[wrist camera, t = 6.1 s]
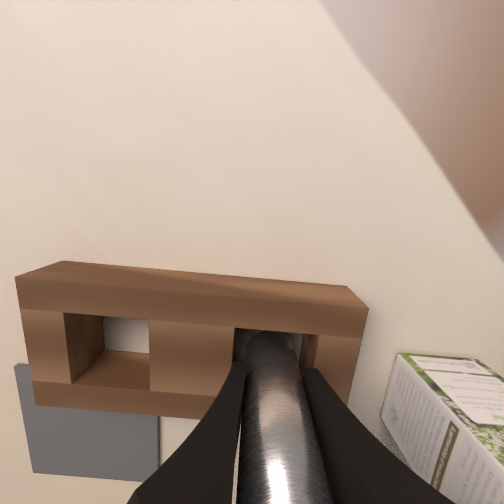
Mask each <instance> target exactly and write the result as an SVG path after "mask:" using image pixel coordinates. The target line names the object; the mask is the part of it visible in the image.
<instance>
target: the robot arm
mask: <svg viewBox="0 0 504 504" xmlns="http://www.w3.org/2000/svg"><path fill="white" fill-rule="evenodd" d="M245 376H246V362H238V361H234V362H233V363H232V365H231V368H230V371H229V373H228V376H227V378H226V380H225V382H224V384H223V386H222V388H221V390H220V391H219V393H218V395H217V397H216V398H215V400H214V401H213V403H212V405H211V406H210V408H209V409H208V411H207V412H206V414H205V415H204V417H203V418H202V419H201V421H200V422H199V423H198V425H197V426H196V427H195V429H194V430H193V431H192V432H191V434H190V435H189V436H188V437H187V438H186V440H185V441H184V442H183V443H182V444H181V445H180V447H179V448H178V449H177V450H176V451H175V452H174V453H173V454H172V455H171V456H170V457H169V458H168V459H167V460H166V461H165V462H164V463H163V464H162V465H161V466H160V467H159V468H158V469H157V470H156V471H155V472H154V473H153V474H152V475H151V476H150V477H149V478H148V479H147V480H145V481H144V482H143V483H142V484H141V485H140V486H139V487H138V488H137V489H136V490H135V491H134V493H133V494H132V496H131V498H130V499H129V501H128V503H127V504H232V490H233V476H234V463H235V457H236V450H237V444H238V437H239V430H240V424H241V417H242V404H243V396H244V387H245ZM303 385H304V389H305V393H306V397H307V401H308V404H309V408H310V412H311V416H312V420H313V424H314V428H315V432H316V436H317V440H318V444H319V448H320V452H321V456H322V460H323V464H324V468H325V472H326V476H327V480H328V483H329V487H330V491H331V495H332V499H333V503H334V504H456V503H454V502H453V501H451V500H450V499H448V498H447V497H446V496H444V495H443V494H441V493H440V492H439V491H437V490H436V489H435V488H434V487H432V486H431V485H430V484H428V483H427V482H426V481H425V480H423V479H422V478H421V477H420V476H418V475H417V474H416V473H415V472H413V471H412V470H411V469H410V468H409V467H407V466H406V465H405V464H404V463H403V462H402V461H400V460H399V459H398V458H397V457H396V456H395V455H394V454H392V453H391V452H390V451H389V450H388V449H387V448H386V447H385V446H384V445H383V444H382V443H381V442H380V441H379V440H378V439H377V438H376V437H375V436H374V435H372V434H371V433H370V432H369V431H368V430H367V428H366V427H365V426H364V425H363V424H362V423H361V422H360V421H359V420H358V419H357V418H356V417H355V415H354V414H353V413H352V412H351V411H350V410H349V409H348V407H347V406H346V405H345V404H344V402H343V401H342V400H341V399H340V398H339V396H338V395H337V394H336V393H335V391H334V390H333V389H332V387H331V386H330V385H329V383H328V382H327V381H326V379H325V378H324V377H323V375H322V374H321V373H320V371H319V370H318V369H317V368H306V367H305V372H304V378H303Z"/></svg>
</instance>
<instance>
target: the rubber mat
mask: <svg viewBox="0 0 504 504" xmlns="http://www.w3.org/2000/svg"><path fill="white" fill-rule="evenodd" d="M14 370H15V376H16V381H17V387H18V392H19V398H20V403H21V409H22V414H23V420H24V425H25V431H26V436H27V442H28V447H29V453H30V458H31V464H32V469H33V473H42V474H54V475H66V476H78V477H90V478H102V479H113V480H125V481H137V482H144V481H145V480H147V479H148V478H149V477H150V476H151V475H152V474H153V473H154V472H155V471H156V470H157V469H158V468H159V416H153V415H141V414H130V413H118V412H106V411H95V410H83V409H71V408H60V407H48V406H36V404H35V398H34V392H33V386H32V380H31V374H30V368H29V364H17V365H15V366H14Z"/></svg>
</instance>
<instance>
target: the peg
mask: <svg viewBox="0 0 504 504" xmlns="http://www.w3.org/2000/svg"><path fill="white" fill-rule="evenodd" d="M245 362H246V376H245V387H244V396H243V404H242V418H241V434H240V450H239V465H238V481H237V497H236V504H334V503H333V499H332V495H331V491H330V487H329V483H328V480H327V476H326V472H325V468H324V464H323V460H322V456H321V452H320V448H319V444H318V440H317V436H316V432H315V428H314V424H313V420H312V416H311V412H310V408H309V404H308V401H307V397H306V393H305V389H304V385H303V381H302V377H301V373H300V369H299V365H298V361H297V357H296V353H295V349H294V345H293V343H292V341H291V340H290V338H289V337H288V336H286V335H285V334H284V333H282V332H279V331H269V330H265V331H261V332H259V333H257V334H255V335H254V336H253V337H252V338H251V339H250V340H249V342H248V344H247V346H246V356H245Z"/></svg>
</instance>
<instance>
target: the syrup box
mask: <svg viewBox="0 0 504 504" xmlns="http://www.w3.org/2000/svg"><path fill="white" fill-rule="evenodd" d="M381 417H382V420H383V422H384V423H385V425H386V427H387V429H388V430H389V432H390V434H391V435H392V437H393V439H394V440H395V442H396V444H397V445H398V447H399V449H400V450H401V452H402V454H403V455H404V457H405V459H406V460H407V462H408V464H409V465H410V467H411V469H412V471H413V472H415V473H416V474H417V475H418V476H420V477H421V478H422V479H423V480H425V481H426V482H427V483H428V484H430V485H431V486H432V487H434V488H435V489H436V490H437V491H439V492H440V493H441V494H443V495H444V496H446V497H447V498H448V499H450V500H451V501H453V502H454V503H456V504H504V378H502V377H501V376H500V375H498V374H497V373H495V372H494V371H493V370H492V369H490V368H489V367H487V366H486V365H484V364H483V363H482V362H480V361H479V360H477V359H468V358H455V357H441V356H429V355H418V354H406V353H399V354H398V355H397V357H396V360H395V363H394V366H393V369H392V373H391V377H390V381H389V384H388V388H387V392H386V396H385V400H384V404H383V408H382V413H381Z"/></svg>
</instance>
